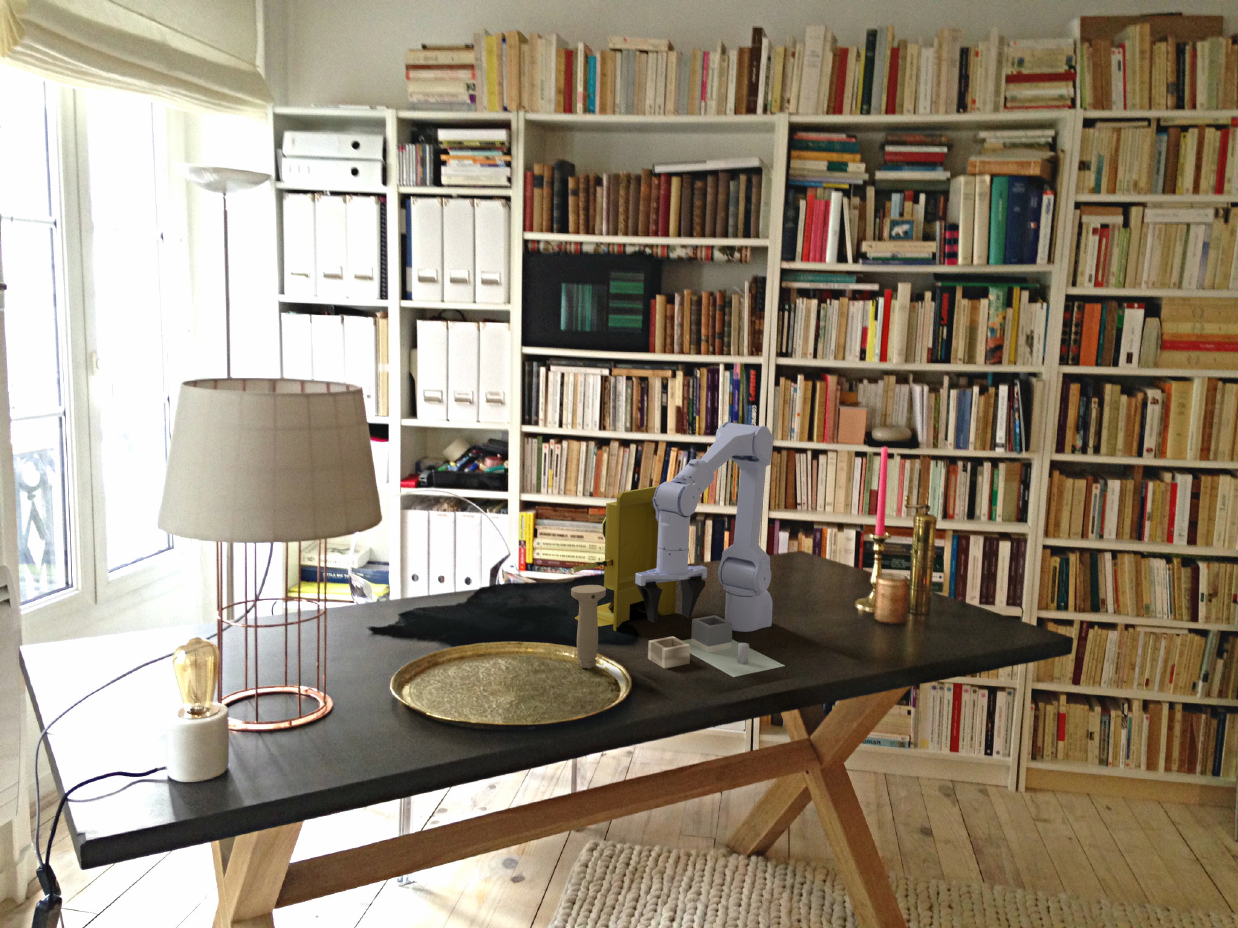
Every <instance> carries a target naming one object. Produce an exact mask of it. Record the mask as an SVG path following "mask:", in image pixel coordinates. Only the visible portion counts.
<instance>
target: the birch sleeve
mask: <svg viewBox="0 0 1238 928" xmlns="http://www.w3.org/2000/svg"><path fill="white" fill-rule="evenodd" d="M647 649H648V650H647V659H648V660H650V661H651V662H653V663H654V664H656V665H658V666H659V667H661V668H663V669H669V668H673V667H674V668H675V667H679V666H685V665H689V664H690V659H691V657H690V656H691V653H690V645H689V644H687V643H685V642H683V640H681V639H679V638H677V637H675V636H668V637H663V638H662V637H661V638H657V639H652V640H651V639H650V640H648V647H647Z"/></svg>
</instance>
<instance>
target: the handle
mask: <svg viewBox="0 0 1238 928" xmlns="http://www.w3.org/2000/svg"><path fill="white" fill-rule="evenodd" d="M570 591H571V593H570V595H571V597H572V598H573V599H575V600H576V601H578V615H579V618H578V621H577V633H576V651H577V652H576V653H577V658H578V659H577V664H578V666H579V667H580V668H581V669H592V668H594V667H596V664H597V655H598V649H599V626H598V620H597V606H598V602H599V601H600V600H601V599H602V598H604V597H606V595H607V593H606V592H607V588H605V587H604V585H603V586H602V585H599V584H584V585H576V586H573V587H572V588H571V589H570Z"/></svg>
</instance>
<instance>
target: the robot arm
mask: <svg viewBox="0 0 1238 928" xmlns="http://www.w3.org/2000/svg"><path fill="white" fill-rule="evenodd" d="M773 445H774V435H773V433H772V432H771V430H770V429H769V427H768V426H766V425H761V426H760V425H751V424H744V423H736V422H730V421H725V422H722V424H721V425H720V426H719V428H718V429H717V428H716V433H715V441H714V442H713V443H712V444H711V446H710V447H708V450H706V452H705V453H704V455H703V456H702V457H701V458H700V459H699V458H696V459H695V458H693V459H690V460H689V462H688V463H687V464H686V466H684V467H683V468H682V469H681V470H680V471H679V472H678V473H677V474H676V475H675V476H674V477H673V478H672V479H671V480H670V481H664V482H662V483H660V484H659V485H657V486H658V487H657V489H656V491H655V494H654V497H653V505H654V508H655V510H656V519H657V521H658V522H659V527H658V549H657V568H655V569H652V570H648V571H645V572H641V573H636V579H635V583H636V584H637V587H638V589H639V591H640V593H641V595H642V597H643V600H644V603H645V607H646V611H647V614H646V617H647V621H649V622H651V623H653V624H655V623H658V618H659V616H658V605H659V600H660V596H661V593H662V589H660V588H658V585H656V583H660V582H668V581H676V582H677V581H680V583H681V584H680V586H681V597H682V600H681V613H682V614H681V615H682V616H684V617H686V618H688V619H689V618H692V615H693V613H694V609H695V606H696V604H697V601H698V598H699V597H700V595H701V593H702V591H703V590H704V588H706V580H704V579H707V576H708V567H705V566H704V565H688V564H689V552H690V528H691V527H690V526H691V525H690V524H691V515H693V514H694V513H695V511H696V510H697V508H698V503H699V501H700V500H701V499H700V498H701V495H702V494H703V493H704V492H705V491H706V490H707V489H708V488H709V486H710V485H711V484H712V483H713V482H714V480H715V472H716V471H718V469H720V468H721V467H722V466H723V465H725V463H727V462H728V461H729V460H732V461H733V462H735V463H736V465H737V466H738V468H739V469H740V471H739V481H738V493H737V504H736V514H735V523H734V524H735V526H734V533H733V534H734V535H733V544H731V545H730V546H729V547H727V548H726V549H724V550H723V551H722V553H721V554H722V555H721V560H720V563H719V565H718V569H717V577H718V578H717V579H718V581H719V583H720V584H721V586H722V590H724V591H725V605H724V606H725V607H724V620H726V621H729V622H731V623H733V624H732V631H734V632H735V631H736V632H743V633H744V632H745V633H747V632H754V631H757V630H760V629H764V628H770V627H772V622H773V604H774V603H773V599H772V596H771V593H770V592H769V591H768V588H769V586H770V584H771V580H772V571H771V557H770V555H768V553H767V552H766V551H765V550H763V548H761V546H760V545H759V544H760V534H761V523H762V515H763V503H764V494H765V482H766V473H767V467H768V466H771V463H772V458H773V456H772V455H773V447H774V446H773Z"/></svg>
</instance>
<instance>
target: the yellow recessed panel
mask: <svg viewBox="0 0 1238 928" xmlns="http://www.w3.org/2000/svg"><path fill="white" fill-rule="evenodd" d="M658 486H659V485H656V486H649V487H645V488H637V489H632V490H627V491H621V492H618V494H617V495H616V501H612V502H606V503H605V517H604V519H603V521H602V523H601V533H602V536H603V538H604V539H605V540H604V560H598V561H595V562H591V563H589V564H585V565H577V566H572V571H573V574H576V573H578V572H581V571H584V570H588V569H594V568H595V569H596V568H598V567H599V568H600V567H601V566H603V567H604V570H603V571H604V575H603V576H604V577H603V578H604V579H603V581H604V583H603V587H605V588H606V589H607V590H608V589H609V590H611V591H613V594H614V595H613V600H612V601H611V602H608V603H605V604H601V605H597V620H598V627H603V626H609V625H612V629H613V631H614V632H617V628H618V627H620V626H621V625H622V623H623V622H627V621H629V620H630V611H636V610H638V611H637V612H640V613H642V614H646V615H647V611H646V607H645V603H644V600H643V597H642V595H641V593H640V591H639V589H638V587H637V584H636V583H635V579H636V573H641V572H645V571H648V570H652V569H655V568H657V549H658V527H659V522H658V521H657V519H656V510H655V508H654V505H653V497H654V494H655V491H656V489H657V487H658ZM688 559H691V555H690V552H688ZM689 564H690V565H689V566H692V561H691V560H689ZM656 585H658V588H660V589H662V593H661V596H660V600H659V605H658V617H663V616H667V615H668V616H669V615H674V614H676V600H677V599H676V598H677V597H676V596H677V580H676V581H668V582H660V583H656ZM679 585H680V586H681V582H680V583H679V584H678V586H679ZM634 609H636V610H634ZM578 618H579V614H578V615H577V616H575V617H574V619H575V620H576V621H577V622H578Z"/></svg>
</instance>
